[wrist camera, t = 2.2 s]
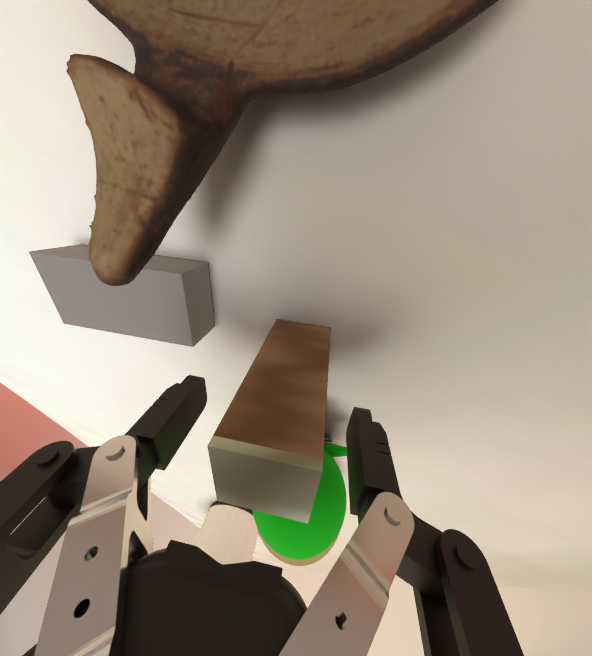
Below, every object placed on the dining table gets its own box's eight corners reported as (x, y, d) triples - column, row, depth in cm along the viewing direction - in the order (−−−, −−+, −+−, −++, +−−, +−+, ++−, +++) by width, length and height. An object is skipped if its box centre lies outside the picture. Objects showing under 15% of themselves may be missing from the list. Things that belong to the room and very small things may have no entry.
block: (330, 327, 16) (322, 472, 7) (322, 370, 18) (307, 523, 9) (276, 319, 16) (207, 445, 8) (274, 361, 18) (217, 500, 10)
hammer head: (208, 262, 15) (181, 274, 12) (214, 326, 17) (193, 346, 15) (78, 244, 16) (28, 251, 13) (102, 307, 18) (63, 323, 16)
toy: (347, 447, 27) (356, 435, 15) (348, 532, 23) (362, 615, 11) (281, 440, 29) (237, 424, 16) (271, 518, 25) (204, 577, 12)
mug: (198, 505, 35) (149, 608, 26) (230, 493, 31) (187, 609, 22) (248, 536, 37) (221, 639, 28) (284, 529, 34) (265, 645, 25)
